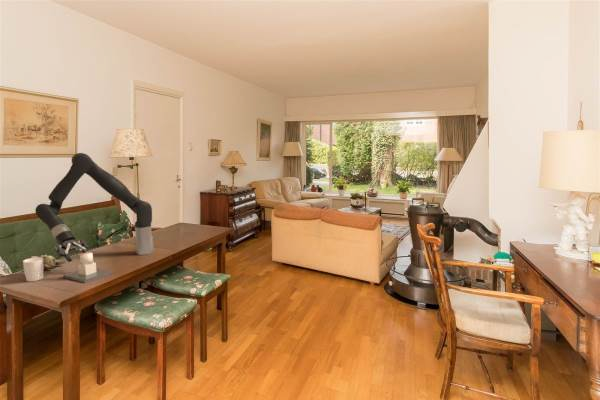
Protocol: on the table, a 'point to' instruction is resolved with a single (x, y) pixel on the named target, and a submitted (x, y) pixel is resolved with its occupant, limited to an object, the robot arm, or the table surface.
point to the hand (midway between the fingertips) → (79, 258)
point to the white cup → (33, 269)
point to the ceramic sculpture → (49, 261)
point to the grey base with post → (87, 278)
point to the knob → (86, 264)
